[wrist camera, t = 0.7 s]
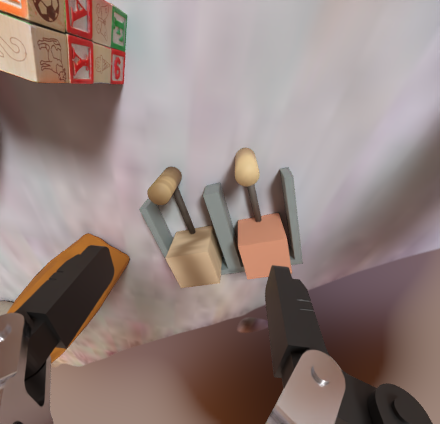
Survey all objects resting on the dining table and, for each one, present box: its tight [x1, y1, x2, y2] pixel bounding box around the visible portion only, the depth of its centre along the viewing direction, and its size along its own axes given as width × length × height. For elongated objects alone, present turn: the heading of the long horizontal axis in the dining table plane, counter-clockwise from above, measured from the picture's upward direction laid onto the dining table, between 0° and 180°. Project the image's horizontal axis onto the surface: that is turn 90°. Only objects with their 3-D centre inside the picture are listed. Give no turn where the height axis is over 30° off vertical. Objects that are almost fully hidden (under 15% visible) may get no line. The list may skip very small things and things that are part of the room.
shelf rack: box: [139, 167, 303, 280], centre depth 31 cm, size 20×14×3 cm
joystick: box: [235, 148, 292, 279], centre depth 28 cm, size 6×16×6 cm, turn 15°
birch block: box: [148, 167, 223, 288], centre depth 29 cm, size 6×16×6 cm, turn 15°
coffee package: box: [7, 234, 129, 363], centre depth 29 cm, size 10×12×22 cm
